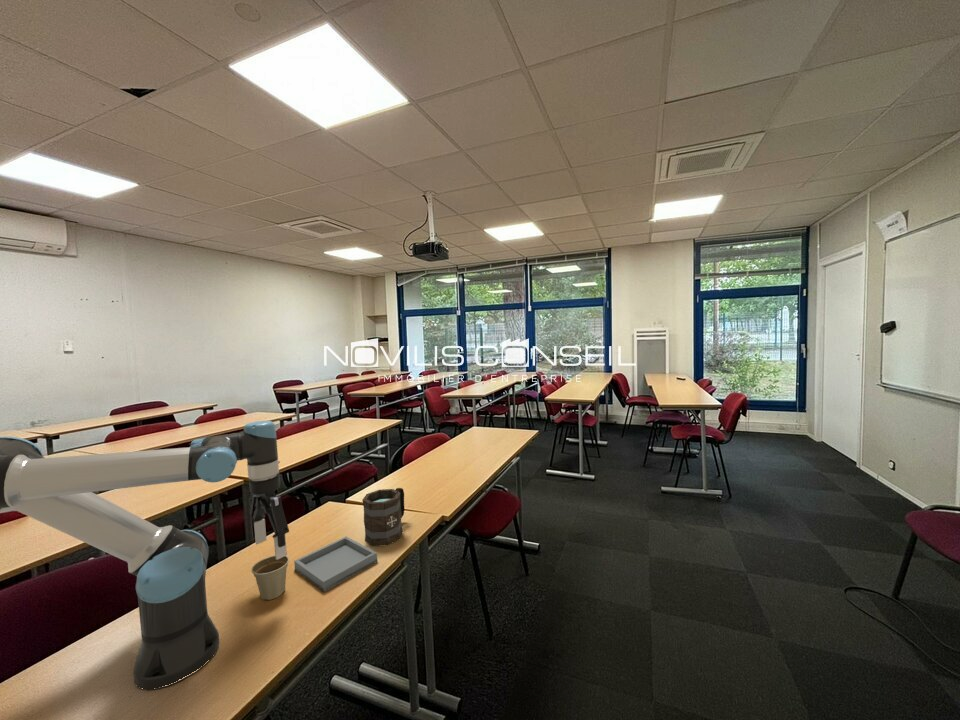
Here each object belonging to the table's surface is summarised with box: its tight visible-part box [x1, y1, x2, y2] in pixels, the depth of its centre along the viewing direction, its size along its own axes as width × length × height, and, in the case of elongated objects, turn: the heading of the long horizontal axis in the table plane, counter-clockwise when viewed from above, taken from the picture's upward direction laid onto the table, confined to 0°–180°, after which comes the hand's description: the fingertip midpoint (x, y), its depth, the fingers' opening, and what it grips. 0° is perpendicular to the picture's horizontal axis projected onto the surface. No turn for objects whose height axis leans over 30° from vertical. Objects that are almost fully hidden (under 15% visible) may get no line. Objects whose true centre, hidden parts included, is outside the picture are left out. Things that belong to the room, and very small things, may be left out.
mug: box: [361, 487, 405, 547], centre depth 140 cm, size 20×14×15 cm
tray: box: [293, 536, 378, 593], centre depth 120 cm, size 18×18×3 cm
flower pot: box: [251, 554, 290, 601], centre depth 108 cm, size 9×9×9 cm
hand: (270, 549), depth 108 cm, fingers open, 13 cm apart
